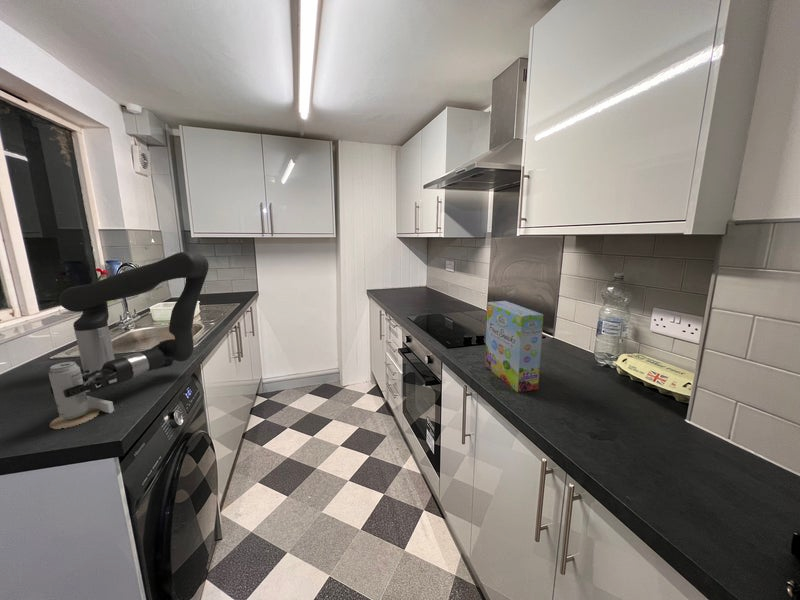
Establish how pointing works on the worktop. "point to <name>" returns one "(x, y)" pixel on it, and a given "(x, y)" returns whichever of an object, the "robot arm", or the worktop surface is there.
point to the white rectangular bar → (100, 404)
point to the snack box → (514, 344)
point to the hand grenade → (168, 360)
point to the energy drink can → (63, 379)
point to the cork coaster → (74, 419)
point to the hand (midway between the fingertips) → (57, 392)
